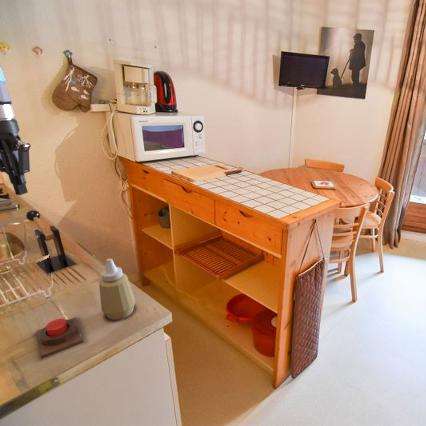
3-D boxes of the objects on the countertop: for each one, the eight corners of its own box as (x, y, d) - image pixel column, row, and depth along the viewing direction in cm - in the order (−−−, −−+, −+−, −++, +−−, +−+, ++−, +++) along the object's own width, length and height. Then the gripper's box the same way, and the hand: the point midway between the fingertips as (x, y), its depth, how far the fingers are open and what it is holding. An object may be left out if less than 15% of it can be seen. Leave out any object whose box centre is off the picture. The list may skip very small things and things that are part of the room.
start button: (46, 329, 78) (44, 323, 77) (66, 322, 81) (65, 316, 80) (48, 339, 76) (46, 332, 75) (69, 331, 78) (67, 325, 77)
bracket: (36, 265, 107) (25, 229, 101) (64, 256, 113) (55, 221, 108) (48, 277, 102) (36, 239, 96) (76, 266, 108) (67, 230, 103)
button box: (38, 335, 80) (34, 325, 79) (77, 322, 85) (74, 311, 84) (42, 361, 74) (38, 349, 72) (84, 344, 79) (81, 333, 77)
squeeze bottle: (118, 328, 84) (106, 271, 77) (96, 319, 87) (82, 263, 80) (143, 309, 92) (134, 256, 84) (122, 301, 94) (111, 249, 87)
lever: (24, 218, 107) (23, 209, 105) (38, 215, 109) (36, 206, 108) (43, 243, 102) (42, 235, 100) (57, 239, 105) (56, 231, 103)
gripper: (31, 119, 97) (51, 191, 106) (-10, 115, 97) (13, 188, 107) (8, 122, 90) (31, 199, 99) (-37, 118, 90) (-10, 195, 100)
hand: (21, 193), depth 103 cm, fingers closed
